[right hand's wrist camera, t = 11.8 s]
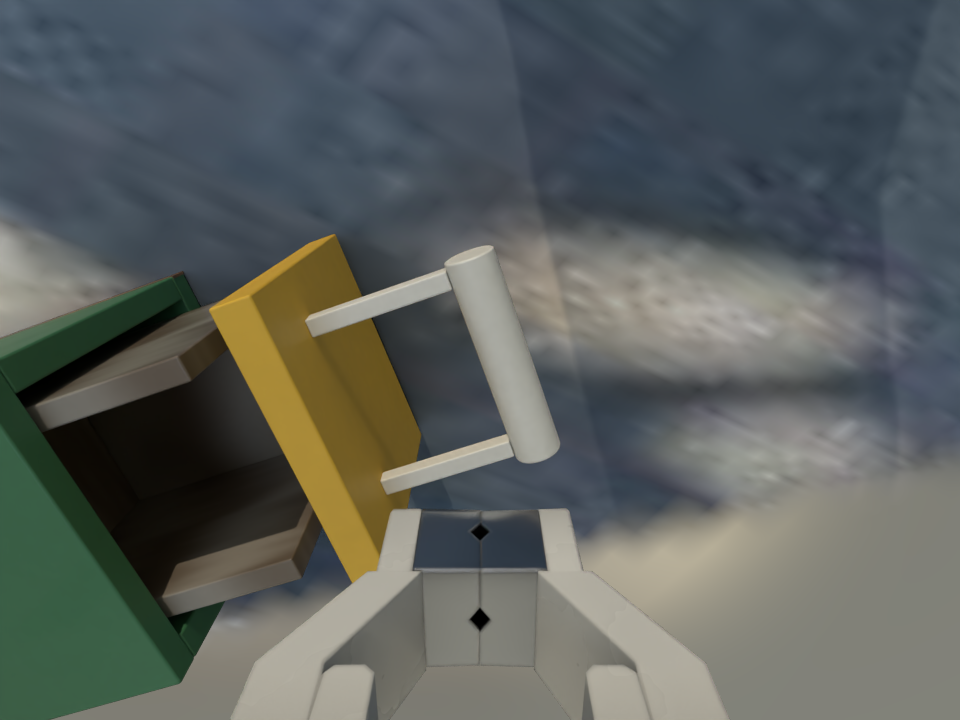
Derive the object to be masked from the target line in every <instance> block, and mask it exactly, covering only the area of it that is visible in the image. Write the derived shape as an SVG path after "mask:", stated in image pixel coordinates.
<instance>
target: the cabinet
mask: <svg viewBox="0 0 960 720" xmlns="http://www.w3.org/2000/svg"><path fill="white" fill-rule="evenodd" d="M183 274H184V273H183V271H182V272H179V273H176V274H173V275H171V276H168V277H165V278H163V279H160V280H157V281H154V282H152V283H149V284H146V285H143V286H141V287H138V288H135V289H133V290H130V291H127V292H124V293H122V294H119V295H116V296H113V297H111V298H108V299H105V300H103V301H100V302H97V303H94V304H92V305H89V306H86V307H83V308H81V309H78V310H75V311H72V312H70V313H67V314H64V315H62V316H59V317H56V318H53V319H51V320H48V321H45V322H42V323H40V324H37V325H34V326H32V327H29V328H26V329H23V330H21V331H18V332H15V333H12V334H10V335H7V336H4V337H2V338H0V720H51V719H54V718H58V717H61V716H65V715H68V714H72V713H76V712H79V711H83V710H87V709H90V708H94V707H97V706H101V705H104V704H108V703H112V702H115V701H119V700H123V699H126V698H130V697H133V696H137V695H140V694H144V693H148V692H151V691H155V690H159V689H162V688H166V687H169V686H173V685H176V684H179V683H181V682H182V680H183V678H184V676H185V674H186V672H187V670H188V669H189V667H190V665H191V663H192V661H193V659H194V656H195V655H196V654H197V652H198V650H199V648H200V647H201V645H202V643H203V641H204V639H205V637H206V636H207V634H208V632H209V630H210V628H211V626H212V624H213V623H214V621H215V619H216V617H217V615H218V613H219V611H220V610H221V608H222V606H223V604H224V602H225V601H223V602H219V603H216V604H212V605H209V606H205V607H202V608H199V609H195V610H192V611H188V612H185V613H182V614H178V615H175V616H171V617H168V618H167V617H166V615H165V614H164V612H163V611H162V609H161V608H160V606H159V605H158V604H157V602H156V601H155V599H154V598H153V596H152V595H151V593H150V592H149V590H148V589H147V587H146V586H145V584H144V583H143V581H142V580H141V578H140V577H139V576H138V574H137V573H136V571H135V570H134V568H133V567H132V565H131V564H130V562H129V561H128V559H127V558H126V556H125V555H124V553H123V552H122V550H121V549H120V548H119V546H118V545H117V543H116V542H115V540H114V539H113V537H112V536H111V534H110V533H109V531H108V530H107V528H106V527H105V525H104V524H103V522H102V521H101V520H100V518H99V517H98V515H97V514H96V512H95V511H94V509H93V508H92V506H91V505H90V503H89V502H88V500H87V499H86V497H85V496H84V494H83V493H82V492H81V490H80V489H79V487H78V486H77V484H76V483H75V481H74V480H73V478H72V477H71V475H70V474H69V472H68V471H67V469H66V468H65V466H64V465H63V463H62V462H61V461H60V459H59V458H58V456H57V455H56V453H55V452H54V450H53V449H52V447H51V446H50V444H49V443H48V441H47V440H46V438H45V437H44V435H43V434H42V433H41V431H40V430H39V428H38V427H37V425H36V424H35V422H34V421H33V419H32V418H31V416H30V415H29V413H28V412H27V410H26V409H25V407H24V406H23V405H22V403H21V402H20V400H19V399H18V397H17V396H16V393H18V392H20V391H22V390H23V389H25V388H27V387H29V386H30V385H32V384H34V383H36V382H38V381H39V380H41V379H43V378H45V377H46V376H48V375H50V374H52V373H53V372H55V371H57V370H59V369H60V368H62V367H64V366H66V365H68V364H69V363H71V362H73V361H75V360H76V359H78V358H80V357H82V356H83V355H85V354H87V353H89V352H90V351H92V350H94V349H96V348H98V347H99V346H101V345H103V344H105V343H106V342H108V341H110V340H112V339H113V338H116V337H119V336H122V335H125V334H127V333H130V332H133V331H136V330H139V329H141V328H144V327H147V326H150V325H153V324H155V323H158V322H161V321H164V320H167V319H169V318H172V317H175V316H178V315H181V314H183V313H186V312H189V311H192V310H195V309H197V308H200V305H199V303H198V301H197V299H196V298H195V296H194V294H193V292H192V290H191V288H190V286H189V284H188V282H187V281H186V279H185V277H184V275H183Z"/></svg>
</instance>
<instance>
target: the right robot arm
mask: <svg viewBox="0 0 960 720" xmlns="http://www.w3.org/2000/svg"><path fill="white" fill-rule="evenodd" d="M476 665H483V666H518V667H534V670H535V672H536V673H537V674H538V676H539V677H540V678H541V680H542V681H543V683H544V684H545V685H546V687H547V688H548V689H549V691H550V692H551V693H552V695H553V696H554V698H555V699H556V700H557V702H558V703H559V704H560V706H561V707H562V708H563V710H564V711H565V713H566V714H567V715H568V717H569V718H570V719H571V720H730V718H729V716H728V713H727V711H726V709H725V706H724V704H723V701H722V699H721V697H720V694H719V692H718V690H717V687H716V685H715V683H714V680H713V678H712V676H711V673H710V671H709V669H708V666H707V664H706V662H704V661H703V660H702V659H701V658H699V657H698V656H697V655H696V654H694V653H693V652H692V651H691V650H689V649H688V648H687V647H686V646H684V645H683V644H682V643H681V642H680V641H678V640H677V639H676V638H675V637H673V636H672V635H671V634H670V633H668V632H667V631H666V630H665V629H663V628H662V627H661V626H660V625H658V624H657V623H656V622H655V621H653V620H652V619H651V618H650V617H649V616H647V615H646V614H645V613H644V612H642V611H641V610H640V609H639V608H637V607H636V606H635V605H634V604H632V603H631V602H630V601H629V600H627V599H626V598H625V597H624V596H623V595H621V594H620V593H619V592H618V591H616V590H615V589H614V588H613V587H611V586H610V585H609V584H608V583H606V582H605V581H604V580H603V579H601V578H600V577H599V576H598V575H596V574H595V573H594V572H593V571H583V566H582V562H581V558H580V554H579V550H578V546H577V542H576V537H575V533H574V529H573V525H572V521H571V517H570V513H569V511H568V510H567V509H566V508H563V509H538V510H504V511H480V510H450V509H423V510H421V509H393V510H392V512H391V513H390V516H389V520H388V524H387V529H386V533H385V537H384V541H383V545H382V550H381V554H380V558H379V562H378V566H377V571H367V572H366V573H365V574H364V575H362V576H361V577H360V578H359V579H357V580H356V581H355V582H354V583H352V584H351V585H350V586H349V587H347V588H346V589H345V590H344V591H342V592H341V593H340V594H339V595H337V596H336V597H335V598H334V599H332V600H331V601H330V602H329V603H327V604H326V605H325V606H324V607H322V608H321V609H320V610H319V611H317V612H316V613H315V614H314V615H312V616H311V617H310V618H309V619H307V620H306V621H305V622H304V623H302V624H301V625H300V626H299V627H297V628H296V629H295V630H294V631H293V632H291V633H290V634H289V635H288V636H286V637H285V638H284V639H283V640H281V641H280V642H279V643H278V644H276V645H275V646H274V647H273V648H271V649H270V650H269V651H268V652H266V653H265V654H264V655H263V656H261V657H260V658H259V659H258V660H256V661H255V662H254V665H253V667H252V669H251V672H250V674H249V676H248V679H247V681H246V683H245V685H244V688H243V690H242V692H241V695H240V697H239V699H238V702H237V704H236V706H235V709H234V711H233V713H232V716H231V718H230V720H390V718H391V717H392V716H393V714H394V713H395V712H396V710H397V709H398V708H399V706H400V705H401V704H402V702H403V701H404V699H405V698H406V697H407V695H408V694H409V693H410V691H411V690H412V688H413V687H414V686H415V685H416V683H417V682H418V680H419V679H420V678H421V676H422V675H423V674H424V672H425V671H426V667H441V666H476Z"/></svg>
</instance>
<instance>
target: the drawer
mask: <svg viewBox="0 0 960 720" xmlns="http://www.w3.org/2000/svg"><path fill="white" fill-rule="evenodd" d="M452 287H453V290H454V292H455V295H456V298H457V300H458V303H459V306H460V309H461V311H462V314H463V317H464V319H465V322H466V325H467V327H468V330H469V333H470V335H471V338H472V341H473V343H474V346H475V349H476V351H477V354H478V357H479V359H480V362H481V365H482V368H483V370H484V373H485V376H486V378H487V381H488V384H489V386H490V389H491V392H492V394H493V397H494V400H495V402H496V405H497V408H498V410H499V413H500V416H501V418H502V421H503V424H504V427H505V429H506V432H507V434H505V435H502V436H499V437H496V438H492V439H489V440H486V441H483V442H480V443H476V444H473V445H470V446H467V447H463V448H460V449H457V450H454V451H450V452H447V453H444V454H441V455H438V456H434V457H431V458H428V459H425V460H421V461H418V462H416V460H417V455H418V450H419V444H420V439H421V433H420V430H419V428H418V426H417V423H416V421H415V419H414V416H413V414H412V412H411V409H410V407H409V405H408V402H407V400H406V398H405V395H404V393H403V391H402V388H401V386H400V384H399V381H398V379H397V377H396V374H395V372H394V370H393V368H392V365H391V363H390V361H389V358H388V356H387V354H386V351H385V349H384V347H383V344H382V342H381V340H380V337H379V335H378V333H377V330H376V328H375V326H374V323H373V321H372V319H371V318H372V317H375V316H378V315H381V314H384V313H387V312H390V311H393V310H396V309H398V308H401V307H404V306H407V305H410V304H413V303H416V302H419V301H422V300H425V299H428V298H431V297H434V296H436V295H439V294H442V293H445V292H448V291H451V290H452ZM16 396H17V397H18V399H19V400H20V402H21V403H22V405H23V406H24V407H25V409H26V410H27V412H28V413H29V415H30V416H31V418H32V419H33V421H34V422H35V424H36V425H37V427H38V428H39V430H40V431H41V433H42V434H43V435H44V437H45V438H46V440H47V441H48V443H49V444H50V446H51V447H52V449H53V450H54V452H55V453H56V455H57V456H58V458H59V459H60V461H61V462H62V463H63V465H64V466H65V468H66V469H67V471H68V472H69V474H70V475H71V477H72V478H73V480H74V481H75V483H76V484H77V486H78V487H79V489H80V490H81V492H82V493H83V494H84V496H85V497H86V499H87V500H88V502H89V503H90V505H91V506H92V508H93V509H94V511H95V512H96V514H97V515H98V517H99V518H100V520H101V521H102V522H103V524H104V525H105V527H106V528H107V530H108V531H109V533H110V534H111V536H112V537H113V539H114V540H115V542H116V543H117V545H118V546H119V548H120V549H121V550H122V552H123V553H124V555H125V556H126V558H127V559H128V561H129V562H130V564H131V565H132V567H133V568H134V570H135V571H136V573H137V574H138V576H139V577H140V578H141V580H142V581H143V583H144V584H145V586H146V587H147V589H148V590H149V592H150V593H151V595H152V596H153V598H154V599H155V601H156V602H157V604H158V605H159V606H160V608H161V609H162V611H163V612H164V614H165V615H166V617H167V618H168V617H171V616H175V615H178V614H182V613H185V612H188V611H192V610H195V609H199V608H202V607H205V606H209V605H212V604H216V603H219V602H223V601H226V600H229V599H233V598H236V597H240V596H243V595H246V594H250V593H253V592H257V591H260V590H264V589H267V588H270V587H274V586H277V585H281V584H284V583H287V582H291V581H294V580H298V579H301V578H302V577H303V574H304V572H305V569H306V567H307V564H308V562H309V559H310V557H311V554H312V552H313V549H314V547H315V544H316V542H317V539H318V537H319V534H320V532H321V529H322V527H323V528H324V530H325V532H326V534H327V536H328V538H329V540H330V542H331V544H332V546H333V547H334V549H335V551H336V553H337V555H338V557H339V559H340V561H341V563H342V565H343V566H344V568H345V570H346V572H347V574H348V576H349V578H350V580H351V582H352V583H354V582H355V581H356V580H357V579H359V578H360V577H361V576H362V575H364V574H365V573H366V572H367V571H377V566H378V562H379V558H380V554H381V550H382V545H383V541H384V537H385V533H386V529H387V524H388V520H389V516H390V513H391V512H392V510H393V509H407V507H408V502H409V497H410V492H411V488H412V487H415V486H418V485H422V484H425V483H428V482H432V481H435V480H438V479H441V478H445V477H448V476H451V475H455V474H458V473H461V472H464V471H468V470H471V469H474V468H477V467H481V466H484V465H487V464H491V463H494V462H497V461H500V460H504V459H507V458H510V457H513V456H514V453H515V456H516V458H517V459H518V460H519V461H520V462H523V463H537V462H540V461H543V460H546V459H548V458H550V457H551V456H553V455H554V454H555V453H556V452H557V451H558V449H559V447H560V440H559V438H558V435H557V432H556V429H555V426H554V423H553V420H552V417H551V414H550V411H549V408H548V405H547V402H546V399H545V396H544V393H543V390H542V388H541V385H540V382H539V379H538V376H537V373H536V370H535V367H534V364H533V361H532V358H531V355H530V352H529V349H528V346H527V343H526V340H525V338H524V335H523V332H522V329H521V326H520V323H519V320H518V317H517V314H516V311H515V308H514V305H513V302H512V299H511V296H510V293H509V290H508V288H507V285H506V282H505V279H504V276H503V273H502V270H501V267H500V264H499V261H498V258H497V255H496V252H495V249H494V247H493V246H490V245H487V246H481V247H477V248H473V249H470V250H467V251H465V252H462V253H460V254H457V255H455V256H453V257H452V258H450V259H449V260H447V261H446V262H445V268H444V269H441V270H438V271H435V272H432V273H429V274H426V275H424V276H421V277H418V278H415V279H412V280H409V281H406V282H403V283H401V284H398V285H395V286H392V287H389V288H386V289H383V290H380V291H378V292H375V293H372V294H369V295H366V296H363V297H362V295H361V293H360V291H359V288H358V286H357V284H356V281H355V279H354V277H353V274H352V272H351V270H350V267H349V265H348V263H347V260H346V258H345V256H344V253H343V251H342V249H341V246H340V244H339V242H338V239H337V237H336V235H335V234H333V235H330V236H327V237H324V238H321V239H319V240H316V241H313V242H310V243H308V244H307V245H305V246H304V247H302V248H301V249H299V250H298V251H296V252H295V253H293V254H292V255H290V256H289V257H287V258H286V259H284V260H283V261H281V262H280V263H278V264H277V265H275V266H273V267H272V268H270V269H269V270H267V271H266V272H264V273H263V274H261V275H260V276H258V277H257V278H255V279H254V280H252V281H251V282H249V283H248V284H246V285H245V286H243V287H242V288H240V289H238V290H237V291H235V292H234V293H232V294H231V295H229V296H228V297H226V298H225V299H223V300H220V301H217V302H214V303H211V304H209V305H206V306H203V307H200V308H197V309H195V310H192V311H189V312H186V313H183V314H181V315H178V316H175V317H172V318H169V319H167V320H164V321H161V322H158V323H155V324H153V325H150V326H147V327H144V328H141V329H139V330H136V331H133V332H130V333H127V334H125V335H122V336H119V337H116V338H113V339H112V340H110V341H108V342H106V343H105V344H103V345H101V346H99V347H98V348H96V349H94V350H92V351H90V352H89V353H87V354H85V355H83V356H82V357H80V358H78V359H76V360H75V361H73V362H71V363H69V364H68V365H66V366H64V367H62V368H60V369H59V370H57V371H55V372H53V373H52V374H50V375H48V376H46V377H45V378H43V379H41V380H39V381H38V382H36V383H34V384H32V385H30V386H29V387H27V388H25V389H23V390H22V391H20V392H18V393H16Z"/></svg>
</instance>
